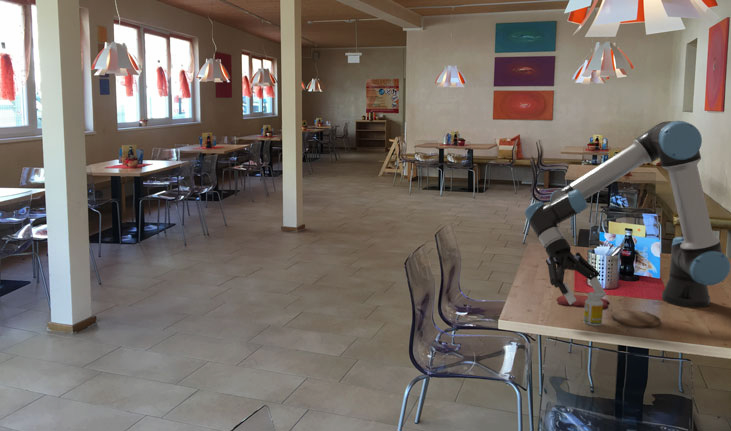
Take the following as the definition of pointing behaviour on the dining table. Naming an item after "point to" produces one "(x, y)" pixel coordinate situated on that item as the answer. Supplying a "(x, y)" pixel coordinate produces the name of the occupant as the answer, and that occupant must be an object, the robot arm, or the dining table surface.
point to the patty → (579, 301)
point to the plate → (636, 318)
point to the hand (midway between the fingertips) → (588, 299)
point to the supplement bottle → (593, 309)
